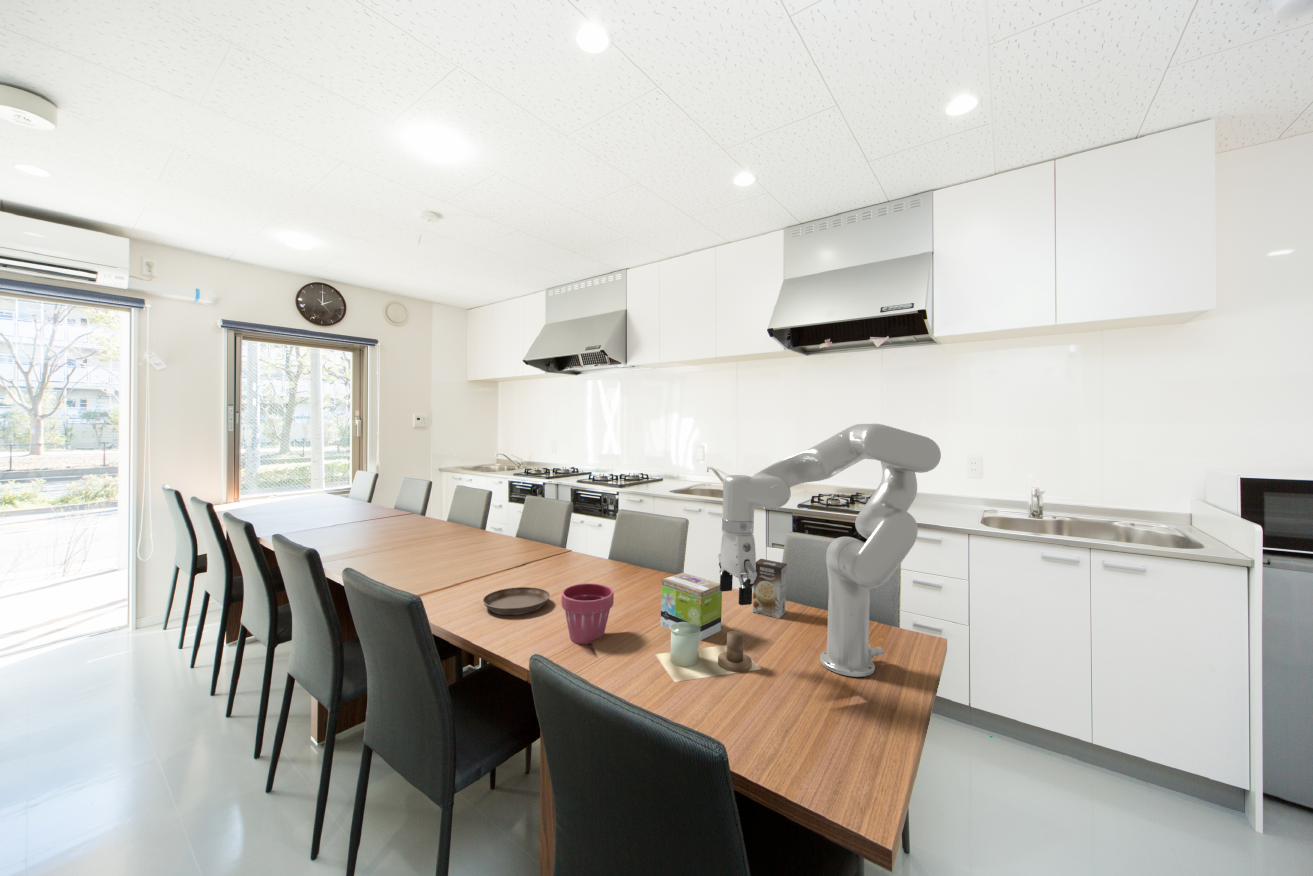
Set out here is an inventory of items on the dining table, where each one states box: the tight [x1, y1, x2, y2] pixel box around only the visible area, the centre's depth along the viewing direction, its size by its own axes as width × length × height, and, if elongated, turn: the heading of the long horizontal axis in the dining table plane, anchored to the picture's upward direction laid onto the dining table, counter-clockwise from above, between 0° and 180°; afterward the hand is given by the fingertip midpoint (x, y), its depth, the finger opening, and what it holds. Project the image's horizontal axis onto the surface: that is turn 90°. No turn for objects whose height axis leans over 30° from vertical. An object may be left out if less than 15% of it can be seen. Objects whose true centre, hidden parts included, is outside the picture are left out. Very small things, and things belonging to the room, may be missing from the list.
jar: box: [670, 622, 701, 667], centre depth 118 cm, size 7×7×8 cm
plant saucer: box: [482, 586, 551, 616], centre depth 155 cm, size 21×21×3 cm
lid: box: [718, 630, 753, 673], centre depth 117 cm, size 8×8×7 cm
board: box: [654, 644, 762, 683], centre depth 118 cm, size 22×14×1 cm, turn 109°
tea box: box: [660, 572, 723, 641], centre depth 138 cm, size 15×10×15 cm, turn 47°
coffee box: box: [752, 558, 788, 619], centre depth 154 cm, size 9×6×16 cm
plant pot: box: [561, 582, 615, 645], centre depth 132 cm, size 14×14×13 cm
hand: (735, 597), depth 117 cm, fingers open, 9 cm apart
